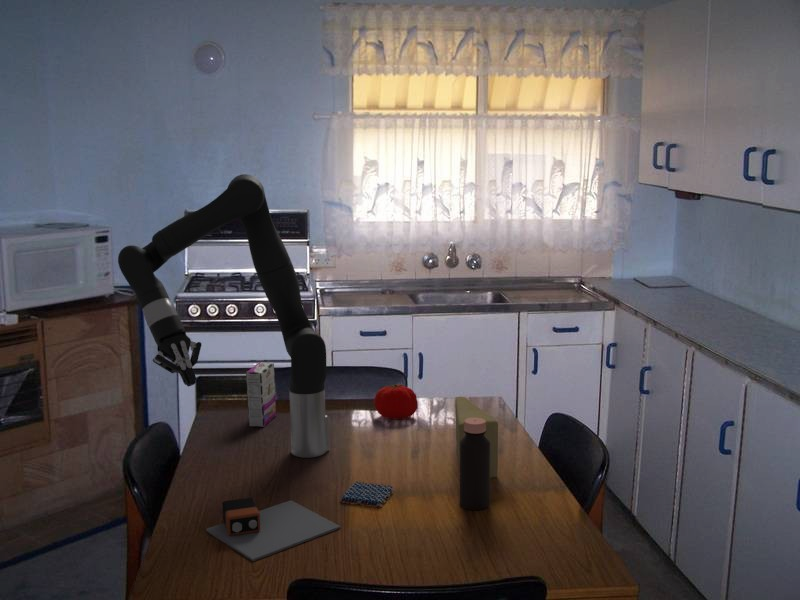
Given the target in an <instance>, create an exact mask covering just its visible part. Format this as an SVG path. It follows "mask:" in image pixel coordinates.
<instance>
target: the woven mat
mask: <svg viewBox="0 0 800 600" xmlns="http://www.w3.org/2000/svg"><path fill="white" fill-rule="evenodd" d="M393 491H394V486H392V485H389V484H387V485H384V484H382V483H381V485H380V484H377V483H375V484H374V483H371V482H369V483H367V482H364V481H362V482H358V480H357V481H355V482H354V483H352V485H351V486H349V488H348V489H347V490H346V491H345V492H344V494H342V496H341V498H340V500H339V502H340V503H341V502H342V503H341V504H343V503H344V504H349V503H350V504H351V505H356V504H357V505H358V506H359V505H360V506H364V505H365V506H366V507H372V506H375V507H374V508H382V507H383V505H384V504H385V503H386V501H387V500H388V501H389V498H390V497H391V495H392V494H393V493H394V492H393ZM387 497H388V498H387ZM367 503H368V504H367Z"/></svg>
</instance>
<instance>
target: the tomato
mask: <svg viewBox="0 0 800 600" xmlns="http://www.w3.org/2000/svg"><path fill="white" fill-rule="evenodd" d="M373 401H374V408H375V410H376V412H378V414H379V415H380V416H381V417H382V418H386V419H389V420H401V419H408V418H409V419H410V417H412V416H413V415H414V414H415V413H416V412H417V409H418V407H419V406H418V405H419V403H418V398H417V393H415V391H414V390H413V389H412V388H410V387H407V386H405V385H403V384H400V383H397V384H394V383H393V384H392V385H386V386H383V387H382V388H380V389H379V390H378V391H377V392H376V394H375V396H374V399H373Z"/></svg>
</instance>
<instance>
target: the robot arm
mask: <svg viewBox="0 0 800 600" xmlns="http://www.w3.org/2000/svg"><path fill="white" fill-rule="evenodd" d="M235 220H240V222H241V224H242V226H243V229H244V231H245V235H246V239H247V242H248V247H249V252H250V255H251V260H252V264H253V266H254V270H255V273H256V275H257V277H258V280H259V283H260V286H261V287H262V290H263V292H264V294H265V297H266V299H267V300H268V302H269V305H270V306H271V308H272V310H273V311H274V314H275V317H276V318H277V322H278V325H279V327H280V331H281V335H282V339H283V341H284V342H283V344H284V346H285V351H286V353H287V354H288V356H289V357H290V366H291V367H290V379H289V381H288V390H289V392H288V393H289V394H288V395H289V396H288V397H289V415H290V416H289V417H290V418H289V419H290V420H289V421H290V423H289V424H290V445H291V446H290V449H291V455H292V456H294V457H297V458H302V459H303V458H308V459H309V458H310V459H311V458H316V457H320V456H322V455H325V454H326V453H327V452H328V451H330V426H329V425H330V421H329V420H330V419H329V415H326V400H325V399H326V395H325V394H326V392H325V389H326V388H325V385H326V384H325V383H326V380H327V347H326V346H327V345H326V343H325V340H324V339H323V337H322V336H321V335H320V334H319V333H317V332H316V331H315V329H314V328H313V326H312V324H311V321H310V320H309V317H308V315H307V313H306V311H305V309H304V306H303V301H302V296H301V295H302V294H301V288H300V283H299V279H298V277H297V273H296V270H295V268H294V265H293V262H292V259H291V257H290V255H289V253H288V251H287V248H286V247H285V244H284V242H283V240H282V237H281V236H280V234H279V232H278V230H277V228H276V226H275V224H274V221H273V219H272V216H271V213H270V208H269V205H268V202H267V198H266V194H265V188H264V186H263V184H262V182H261V181H260V180H259V179H258V178H256V177H255V176H254V175H251V174H239V175H236V176H235V177H234V178H233V179H231V181H230V182H229V184H228V186H227V188H226V189H225V190H224V191H223V192H221V194H220V195H218V196H217V197H216V198H214V199H213V200H212V201H210V202H208V203H207V204H205V206H203V207H201V208H199V209H197V210H194V211H193V212H190V213H188V214H186V215H185V216H181V218H179V219H176V220H175V221H173V222H172V223H170V224H168V225H166V226H165V227H164V228H162V229H160V230H158V231H157V232H156V233H154V234H153V235H152V237H151V241H150V242H149V243H148V244H147V245H145V246H144V247H140V246H137V245H131V244H130V245H127V246H124V247H123V248H122V249H121V250H120V251H119V253H118V257H117V263H118V267H119V270H120V271H121V273H122V275H123V277H124V278H125V280H126V282H127V284H128V285H129V286H130V288H131V289H132V290H133V292H134V294H135V296H136V300H137V302H138V303H139V306H140V308H141V310H142V313H143V316H144V320H145V321H146V322H145V323H146V325H147V326H148V329H149V331H150V333H151V335H152V337H153V341H154V342H155V343H156V345H157V354H156V355H155V356H154V357H153V359H152V362H153V363H154V364H156V365H157V366H159V367H161V368H163V369H164V370H165V371H167V372H168V373H171V374H175V373H177V374H179V376H180V378H181V380H182V382H183V384H184V385H185V386H187V387H188V388H189V387H191V386H194V385H195V384H196V382H197V376H196V374H195V372H194V369H193V367H195V365H196V364H197V363H198V360H199V356H200V351H201V349H202V348H201V347H202V342H201V341H197V342H196V341H193V340H191V338H190V337H189V336H188V335H187V332H186V329H185V327H184V324H183V322H182V321H181V318H180V316H179V314H178V311H177V310H176V308H175V306H174V303H173V302H172V301H171V298H170V297H169V295H168V292H167V290H166V287H165V286H164V283H163V282H162V281H161V280H160V279H158V277H157V276H156V275H155V272H156V271H158V270H159V269H160V268H161V267H163V265H165V264H166V263H167V262H168V261H169V259H171V258H172V257H174V256H177V255H178V254H179V253H181V252H182V251H184V250H186V249H187V248H189V247H190V246H192V245H194V244H195V243H197V242H198V241H200V240H201V239H202V238H204V237H206V236H207V235H209V234H210V233H212V232H214V231H217V229H219V228H221V227H223V226H225V225H228V224H230V223H231V222H234V221H235ZM190 351H191V355H190Z"/></svg>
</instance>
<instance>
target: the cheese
mask: <svg viewBox="0 0 800 600" xmlns="http://www.w3.org/2000/svg"><path fill="white" fill-rule="evenodd" d="M454 403H455V405H454V406H455V443H456V445H455V448H456V453H457V457H458V465H459V468H460V441H461V440H462V438H463V437H464V436H465V433H464V420H465V419H467V418H475V417H476V418H482V419H484V420H486V433H485V435H484V436H485V437H486V438H487V439H488V440H489V442H490V479H492V478H493V479H494V478H496V477H498V469H499V467H498V466H499V460H498V458H499V455H498V454H499V453H498V448H499V444H498V443H499V421H497V420H496V419H495V418H493V417H492V416H491V415H489V413H487V412H486V411H484V410H482V409H481V408H480V407H479V406H478V405H476V404H475V403H473V402H472V401H470V400H469V399H468V398H467V397H466V396H456V397H455V401H454Z"/></svg>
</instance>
